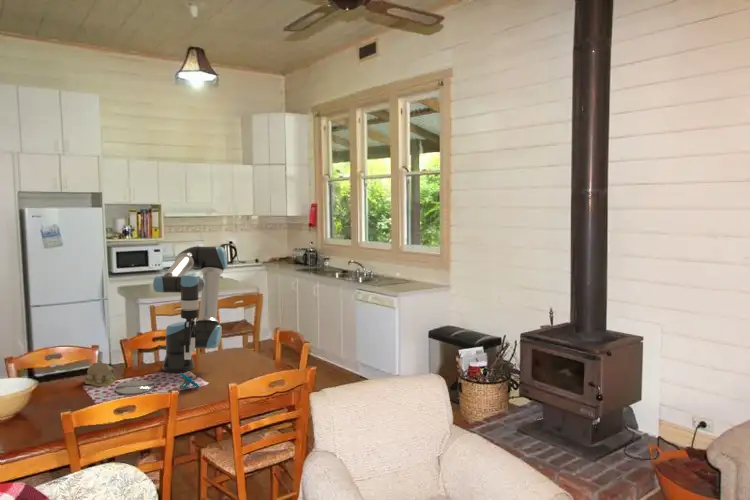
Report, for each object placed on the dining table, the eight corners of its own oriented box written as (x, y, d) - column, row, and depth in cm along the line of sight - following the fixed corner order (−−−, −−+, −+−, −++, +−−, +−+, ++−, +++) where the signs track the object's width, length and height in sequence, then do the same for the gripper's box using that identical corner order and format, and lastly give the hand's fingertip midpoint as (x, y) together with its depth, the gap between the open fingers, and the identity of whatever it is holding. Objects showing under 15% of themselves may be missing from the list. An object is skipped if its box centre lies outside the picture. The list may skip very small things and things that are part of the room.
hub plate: (120, 383, 257) (120, 381, 257) (157, 382, 260) (157, 379, 260) (111, 395, 242) (111, 392, 241) (150, 393, 244) (150, 391, 244)
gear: (203, 386, 251) (186, 373, 247) (194, 397, 248) (177, 384, 244) (195, 383, 260) (179, 370, 256) (186, 394, 257) (170, 381, 253)
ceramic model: (121, 380, 263) (120, 359, 262) (106, 387, 252) (106, 365, 251) (93, 378, 265) (93, 357, 264) (78, 385, 254) (77, 363, 253)
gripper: (185, 304, 262) (185, 348, 263) (176, 314, 238) (176, 363, 239) (201, 304, 263) (201, 348, 265) (194, 313, 239) (194, 362, 240)
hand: (189, 355), depth 252 cm, fingers open, 13 cm apart
